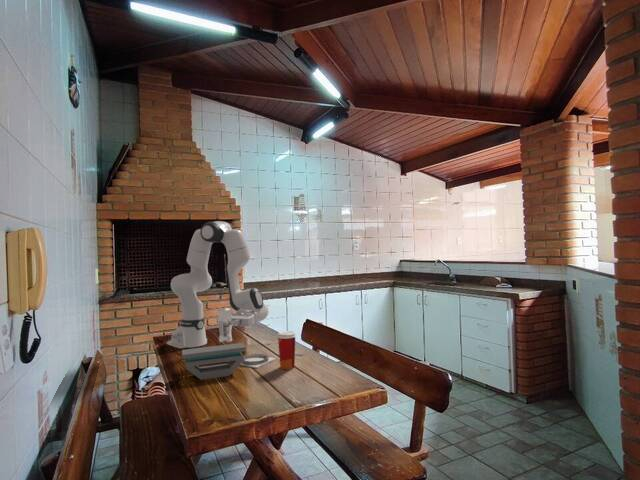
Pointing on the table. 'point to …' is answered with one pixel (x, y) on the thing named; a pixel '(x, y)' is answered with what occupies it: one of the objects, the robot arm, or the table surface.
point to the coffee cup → (286, 349)
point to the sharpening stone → (213, 360)
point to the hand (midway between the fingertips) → (224, 322)
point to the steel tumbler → (225, 324)
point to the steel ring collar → (255, 361)
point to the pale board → (258, 360)
